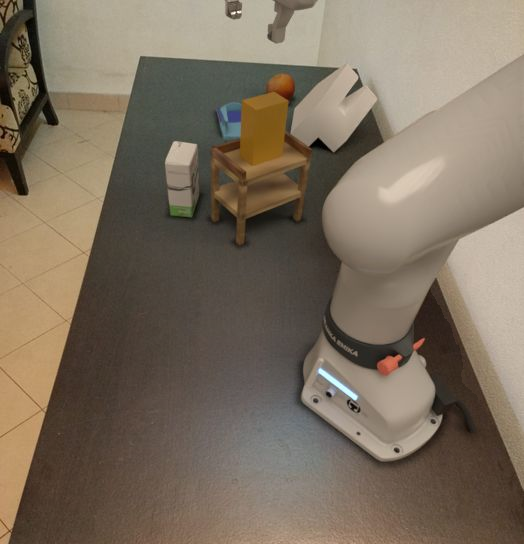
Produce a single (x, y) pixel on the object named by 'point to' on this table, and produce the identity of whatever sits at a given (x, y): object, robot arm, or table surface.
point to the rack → (257, 181)
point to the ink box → (182, 178)
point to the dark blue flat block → (230, 116)
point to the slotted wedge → (332, 110)
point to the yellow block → (263, 128)
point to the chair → (230, 129)
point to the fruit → (281, 86)
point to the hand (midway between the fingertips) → (253, 29)
